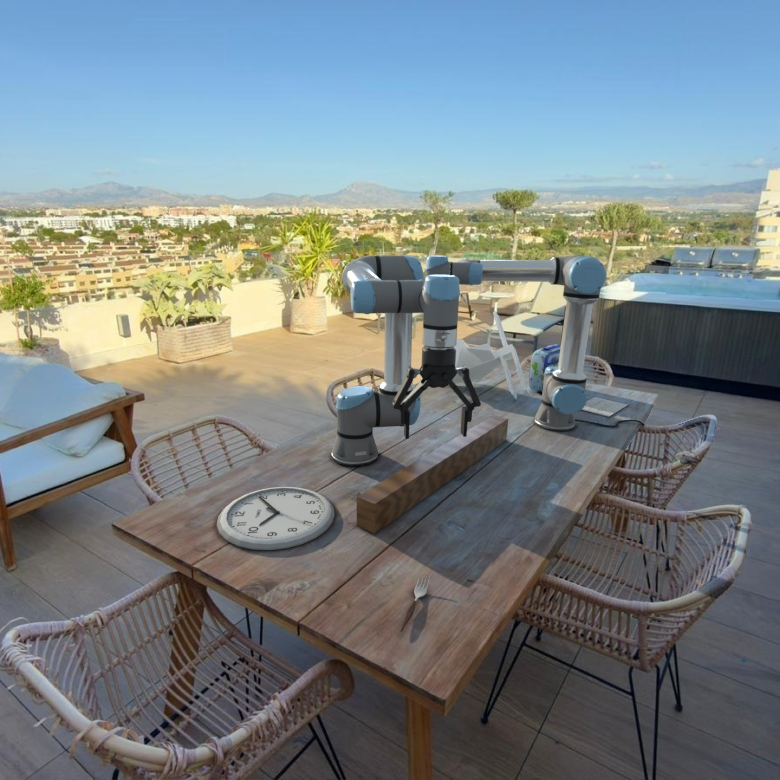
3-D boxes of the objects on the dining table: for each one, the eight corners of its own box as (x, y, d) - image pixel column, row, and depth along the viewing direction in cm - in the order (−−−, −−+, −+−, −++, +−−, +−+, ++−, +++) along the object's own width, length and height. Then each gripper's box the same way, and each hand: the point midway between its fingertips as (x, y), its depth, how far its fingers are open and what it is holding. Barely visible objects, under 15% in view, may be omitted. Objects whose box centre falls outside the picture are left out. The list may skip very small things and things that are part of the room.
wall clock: (333, 542, 123) (202, 546, 121) (333, 547, 124) (203, 552, 121) (335, 482, 152) (229, 485, 149) (335, 487, 152) (230, 490, 150)
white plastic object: (461, 429, 252) (437, 405, 227) (444, 352, 274) (420, 323, 250) (535, 404, 240) (518, 377, 215) (510, 326, 262) (492, 293, 237)
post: (491, 436, 192) (493, 415, 190) (506, 440, 189) (508, 418, 186) (356, 525, 133) (356, 496, 131) (374, 533, 130) (374, 503, 127)
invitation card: (608, 416, 214) (573, 407, 224) (608, 416, 214) (573, 408, 224) (628, 404, 229) (594, 396, 238) (628, 405, 229) (594, 397, 238)
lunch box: (545, 397, 238) (550, 352, 231) (524, 391, 245) (529, 348, 239) (572, 386, 255) (578, 344, 249) (552, 381, 262) (557, 340, 256)
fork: (394, 632, 98) (394, 623, 98) (419, 581, 113) (419, 573, 112) (407, 636, 97) (407, 627, 97) (430, 584, 112) (431, 576, 111)
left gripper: (385, 351, 110) (384, 443, 117) (499, 349, 114) (491, 439, 120) (381, 343, 118) (380, 431, 124) (488, 342, 121) (482, 427, 127)
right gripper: (424, 296, 195) (422, 351, 202) (424, 305, 171) (421, 368, 178) (445, 296, 195) (442, 352, 201) (446, 306, 171) (443, 369, 177)
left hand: (435, 435), depth 122 cm, fingers open, 13 cm apart
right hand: (432, 360), depth 189 cm, fingers open, 13 cm apart
